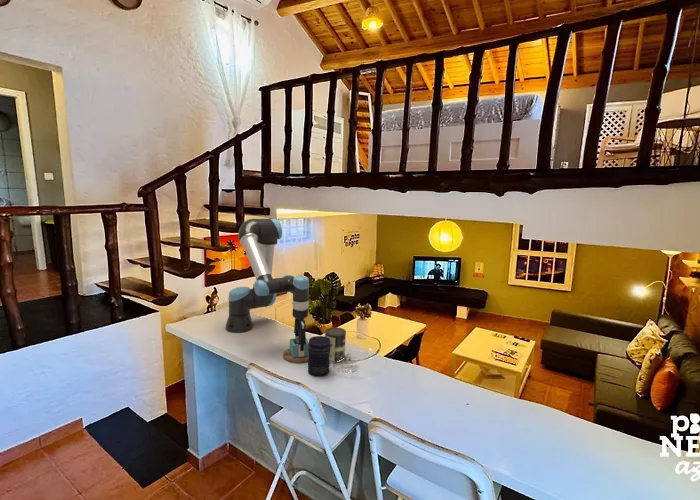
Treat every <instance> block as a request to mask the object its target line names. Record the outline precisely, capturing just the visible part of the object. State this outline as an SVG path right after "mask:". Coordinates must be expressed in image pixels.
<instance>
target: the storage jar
mask: <svg viewBox="0 0 700 500" xmlns="http://www.w3.org/2000/svg"><path fill="white" fill-rule="evenodd" d="M308 342H309V346H308V349H309V350H308V352H309V359H308V362H307V374H308V375H310V376H311V377H315V378H321V377H322V378H323V377H325V376H327V375H329V373H330V360H329V353H330V339H329V338H327V337H325V335H321V336H320V335H316V336H312V337H310V338H309V339H308Z"/></svg>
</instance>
